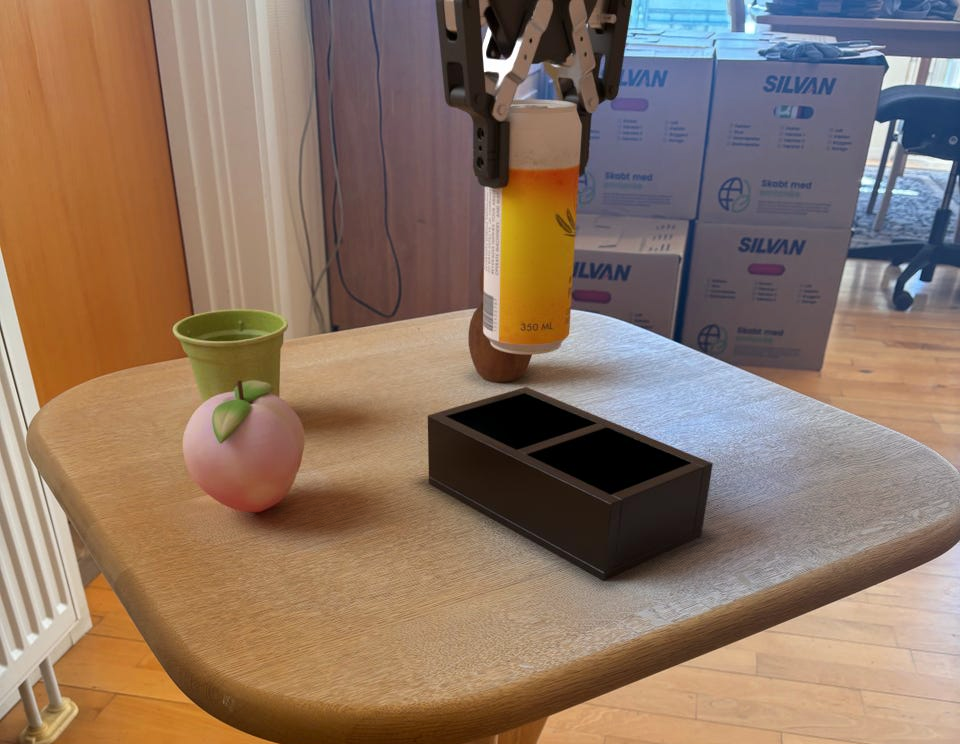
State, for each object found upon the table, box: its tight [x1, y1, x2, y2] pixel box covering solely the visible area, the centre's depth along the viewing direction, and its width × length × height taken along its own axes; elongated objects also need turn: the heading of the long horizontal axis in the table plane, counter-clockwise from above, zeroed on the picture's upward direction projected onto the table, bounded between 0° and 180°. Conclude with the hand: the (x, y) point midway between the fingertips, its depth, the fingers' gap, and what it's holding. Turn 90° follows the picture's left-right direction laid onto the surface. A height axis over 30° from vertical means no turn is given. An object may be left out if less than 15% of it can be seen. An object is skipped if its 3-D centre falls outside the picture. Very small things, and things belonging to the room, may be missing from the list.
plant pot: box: [172, 308, 289, 404], centre depth 84 cm, size 9×9×9 cm
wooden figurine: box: [467, 264, 533, 383], centre depth 93 cm, size 7×6×15 cm
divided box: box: [427, 386, 714, 582], centre depth 71 cm, size 10×19×6 cm, turn 40°
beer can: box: [483, 98, 582, 356], centre depth 65 cm, size 6×6×15 cm
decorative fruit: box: [182, 380, 306, 513], centre depth 69 cm, size 9×8×10 cm
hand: (532, 180), depth 63 cm, fingers closed on beer can, 6 cm apart
